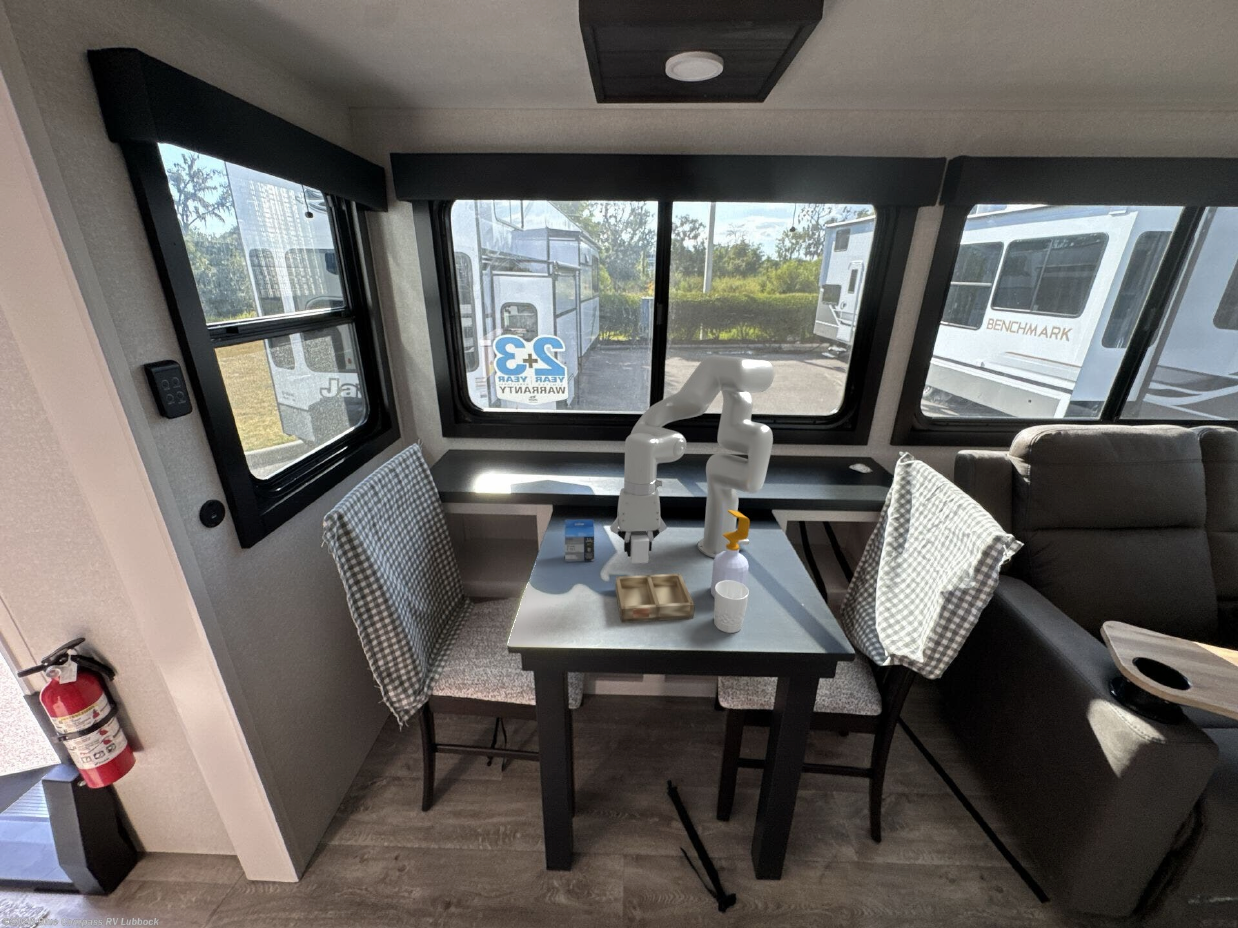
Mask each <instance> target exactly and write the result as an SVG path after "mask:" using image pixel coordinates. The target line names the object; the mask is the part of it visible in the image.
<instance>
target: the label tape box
mask: <svg viewBox="0 0 1238 928" xmlns="http://www.w3.org/2000/svg"><path fill="white" fill-rule="evenodd" d="M594 521H595V520H594V519H564V525H565V526H564V558H565V559H564V561H565V563H569V562H570V563H572V562H575V563H576V562H594V561H595V526H594V524H595V523H594ZM579 523H580V524H579Z"/></svg>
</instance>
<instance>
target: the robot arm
mask: <svg viewBox="0 0 1238 928" xmlns="http://www.w3.org/2000/svg"><path fill="white" fill-rule="evenodd" d="M774 379H775V369H774V367H773V364H772V363H771V362H770V361H767V360H765V359H755V358H747V357H740V356H739V357H738V356H728V355H727V356H726V355H717V354H716V355H715V354H714V355H708V356H706V357H704V358H703V359H702V360H701V361H700V362H699V364H698V366H696V368H695V369H694V371H693V372H692V374H690V376H689V377H688V379H687V380H686V382H685V383H684V384H683V385H682V387H681V388H680V390H678V391H677V392H676V393H674V394H672V395H669V396H667V397H665V398H664V399H661V400H659V401H658V402H656V403H654V404H653V405H651V406H650V407H649V408H648V409H646V410H645V411H644V412H643V414H642V415H641V417H639V419H638V421H637V422H636V423H635V425H634V426H633V428H632V430H631V433H630V434H629V435H628V436H627V437H626V439H625V442H624V474H623V475H624V476H623V477H624V483H623V484H624V485H623V487H622V488H621V489H620V491H619V497H618V503H617V515H616V516H617V517H616V519H615V520H614V521H613V523H612V524H611V525H610V527H609V529H610V532H612V533H614V534H615V535H617V536H618V537H619V538H620V539H622V540H623V541H624V542H623V551H624V553H626V555H627V557H628V558H630V556H631V542H630V535H631V531H646V532H647V536H648V539H649V552H652V549H653V548H652V547H653V546H652V545H653V542H654V540H655V538H657V537H658V536H659V535H660V534H661V533H662V532H664V531H666V530H667V528H668V526H667V525H666V523H665V522H664V520H663V519H662V517H661V503H660V496H659V495H660V494H659V491H658V487H662V486H663V481H662V480H659V479H657V470H658V465H659V464H663V463H664V464H665V463H672V462H675V461H678V460H679V459H681V458H682V457H683V456H684V454H685V452H686V450H687V440H686V438H685V436H684V435H683V434H682V433H680V432H679V431H676V430H672V429H668V428H665V427H664V426H665V425H667V424H669V423H673V422H676V421H679V420H684V419H691V418H694V417H698V416H702V415H703V414H705V413H706V412H707V410H709V407H710V406H711V405H712V403H713V402H714V401H715V399H716V398H717V396H718V394H720V391H721V395H722V401H723V402H722V408H721V414H720V420H719V425H718V430H717V444H718V445H719V447H721V448H723V449H725V450H728V451H730V452H731V451H732V452H736V453H739V454H744V455H747V457H748V458H745V457H741V456H739V455H734V454H729V453H725V452H724V453H723V452H717V453H714V454H712V455H711V456H710V457H709V458H708V460H707V462H706V464H705V465H706V466H705V473H706V474H705V475H706V484H707V486H706V487H707V490H706V491H707V493H706V506H705V518H704V529H703V538H701V539H699V541H698V543H697V549H698V550H699V551H700V553H702V554H703V555H705V556H707V557H710V558H713V559H714V558H715V557H716V555H717V554H719V553H721V552H723V551H726V545H727V543H730V541H729V540H728V539H726V538H725V537H724V536H723V534H724V533H728V532H734V531H736V526H737V519H738V518H737V517H734V516H733V515H732V514H730V513H729V512H728V510H733V511H739V510H738V508H739V496H738V495H739V494H738V492H737V491H740V492H742V493H746V494H751V495H754V494H757V493H759V492H760V491H761V490H762V489H763V486H764V484H765V481H766V478H767V477H766V476H767V473H768V472H767V471H768V467H769V463H770V458H771V455H772V454H771V453H772V448H773V443H774V438H773V437H774V435H773V431H772V429H771V428H770V427H769V426H768V425H766V424H765V423H760V422H755V421H752V413H753V407H754V399H753V397H752V393H763V392H766V391H767V390H768V389H769V388H770V387H771V386H772V384H773V382H774ZM736 544H738V545H739V546H740V545H742V546H749V545H750V540H749V538H746V539H744V540H739V542H737V543H736Z"/></svg>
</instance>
